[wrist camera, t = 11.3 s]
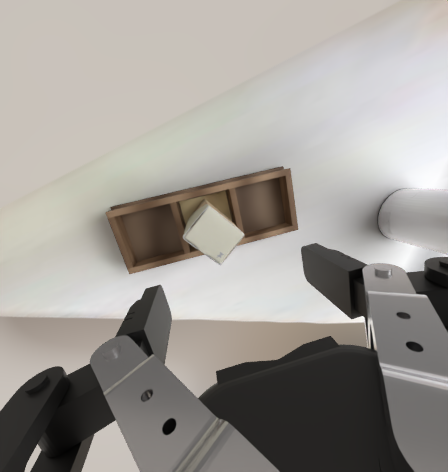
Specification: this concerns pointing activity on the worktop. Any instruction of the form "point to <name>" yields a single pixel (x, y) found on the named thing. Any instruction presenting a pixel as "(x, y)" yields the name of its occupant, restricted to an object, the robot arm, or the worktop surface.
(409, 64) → the worktop surface
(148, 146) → the worktop surface
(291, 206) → the tray
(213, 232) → the box
